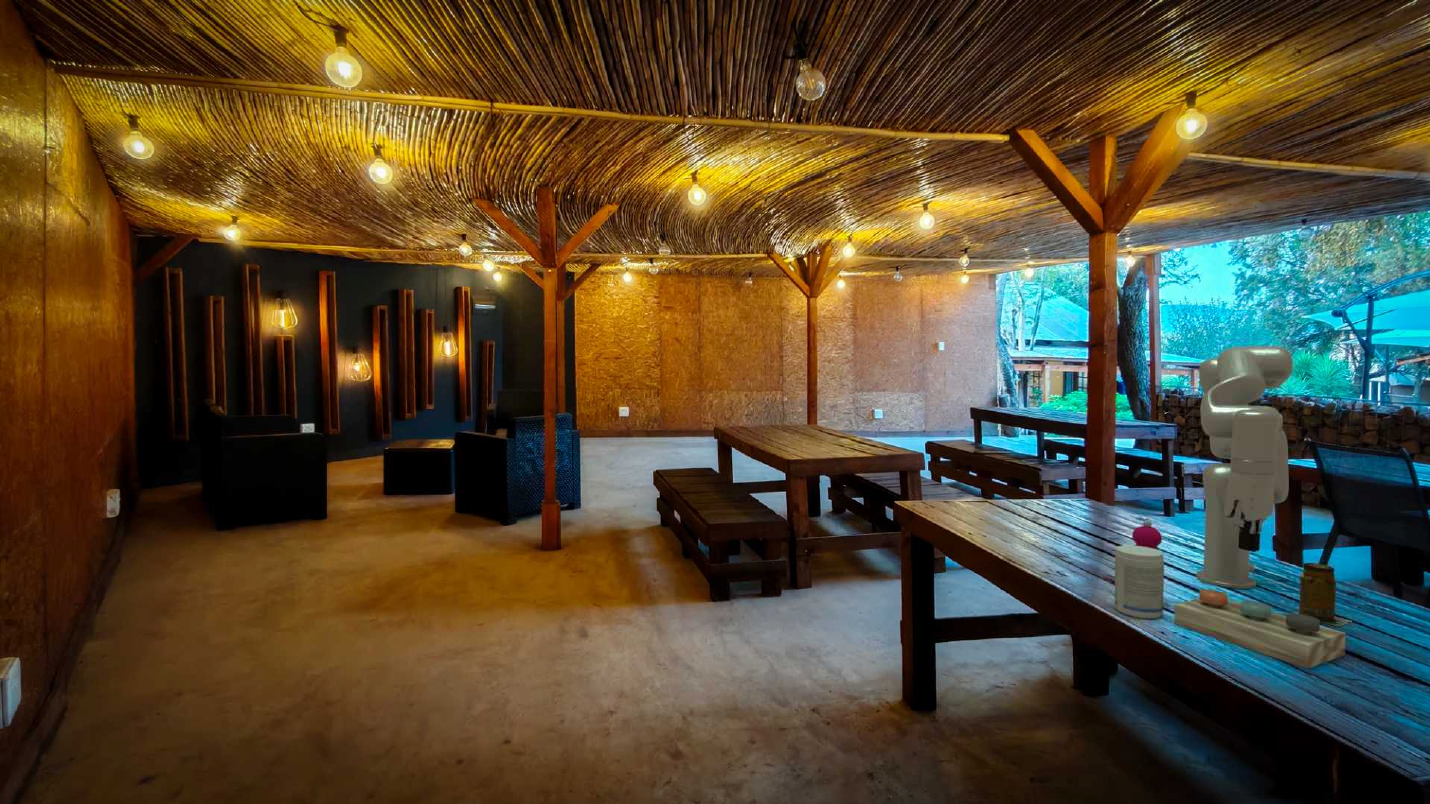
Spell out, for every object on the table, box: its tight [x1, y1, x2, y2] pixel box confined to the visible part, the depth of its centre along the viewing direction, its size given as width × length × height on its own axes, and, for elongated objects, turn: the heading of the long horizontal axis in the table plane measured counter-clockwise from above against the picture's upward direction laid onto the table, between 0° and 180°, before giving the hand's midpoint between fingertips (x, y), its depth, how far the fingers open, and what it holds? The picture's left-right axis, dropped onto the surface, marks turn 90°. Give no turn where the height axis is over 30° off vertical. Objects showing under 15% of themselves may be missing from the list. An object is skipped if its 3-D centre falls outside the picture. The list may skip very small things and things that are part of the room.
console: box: [1173, 597, 1347, 670], centre depth 138 cm, size 14×24×4 cm, turn 25°
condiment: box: [1294, 562, 1353, 627], centre depth 149 cm, size 7×8×12 cm
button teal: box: [1240, 600, 1272, 621], centre depth 138 cm, size 5×5×5 cm
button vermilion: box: [1198, 588, 1229, 609], centre depth 145 cm, size 5×5×5 cm
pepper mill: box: [1131, 519, 1163, 551], centre depth 160 cm, size 7×7×20 cm
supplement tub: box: [1114, 545, 1165, 619], centre depth 153 cm, size 10×10×15 cm
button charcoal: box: [1285, 612, 1321, 636], centre depth 131 cm, size 5×5×5 cm
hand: (1248, 549), depth 143 cm, fingers closed
